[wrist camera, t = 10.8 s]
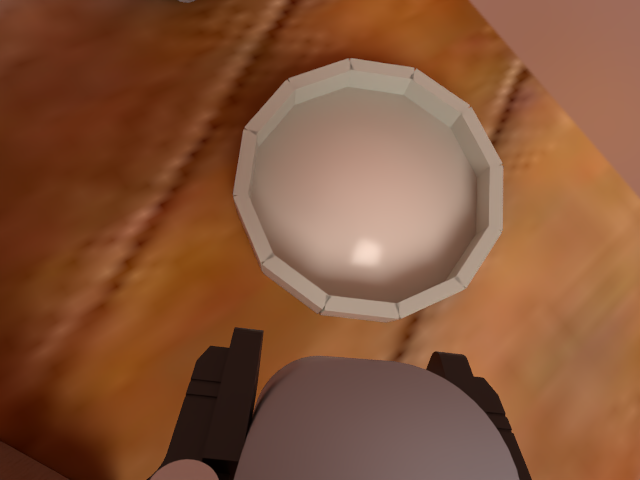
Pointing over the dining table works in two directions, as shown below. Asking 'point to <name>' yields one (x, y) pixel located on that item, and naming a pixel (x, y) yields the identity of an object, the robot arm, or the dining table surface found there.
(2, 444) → the wooden block
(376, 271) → the round tray
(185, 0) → the bracelet
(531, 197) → the dining table surface
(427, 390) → the grey peg
